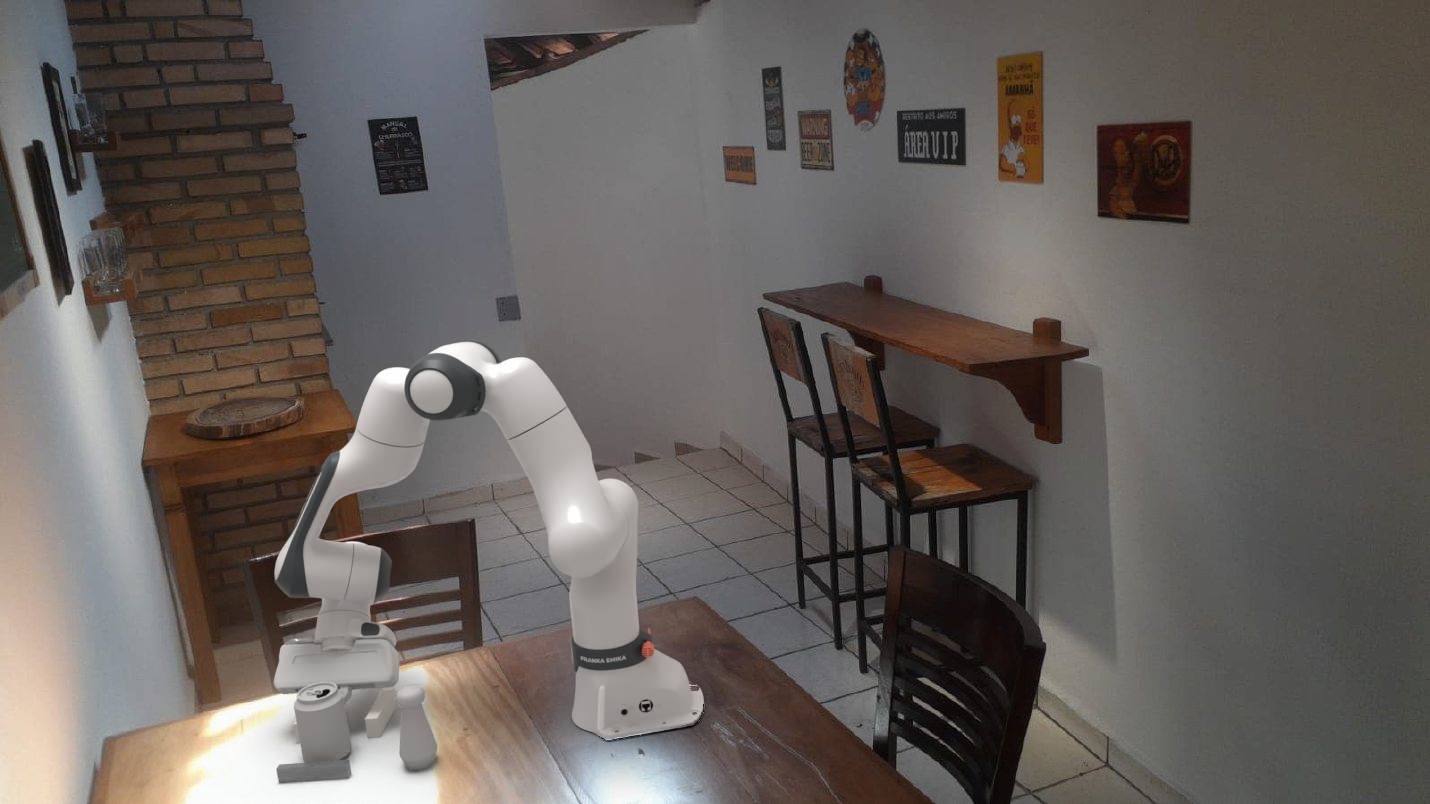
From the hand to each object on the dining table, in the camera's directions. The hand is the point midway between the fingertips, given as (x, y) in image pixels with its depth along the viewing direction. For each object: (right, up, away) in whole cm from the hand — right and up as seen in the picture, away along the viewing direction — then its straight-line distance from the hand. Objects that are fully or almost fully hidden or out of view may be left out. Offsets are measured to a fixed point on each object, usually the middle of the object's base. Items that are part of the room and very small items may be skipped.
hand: (331, 716), depth 179 cm
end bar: (+1, -7, -9) cm, 12 cm away
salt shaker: (+17, -6, -7) cm, 19 cm away
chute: (0, -3, +7) cm, 8 cm away
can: (0, -6, -3) cm, 7 cm away
